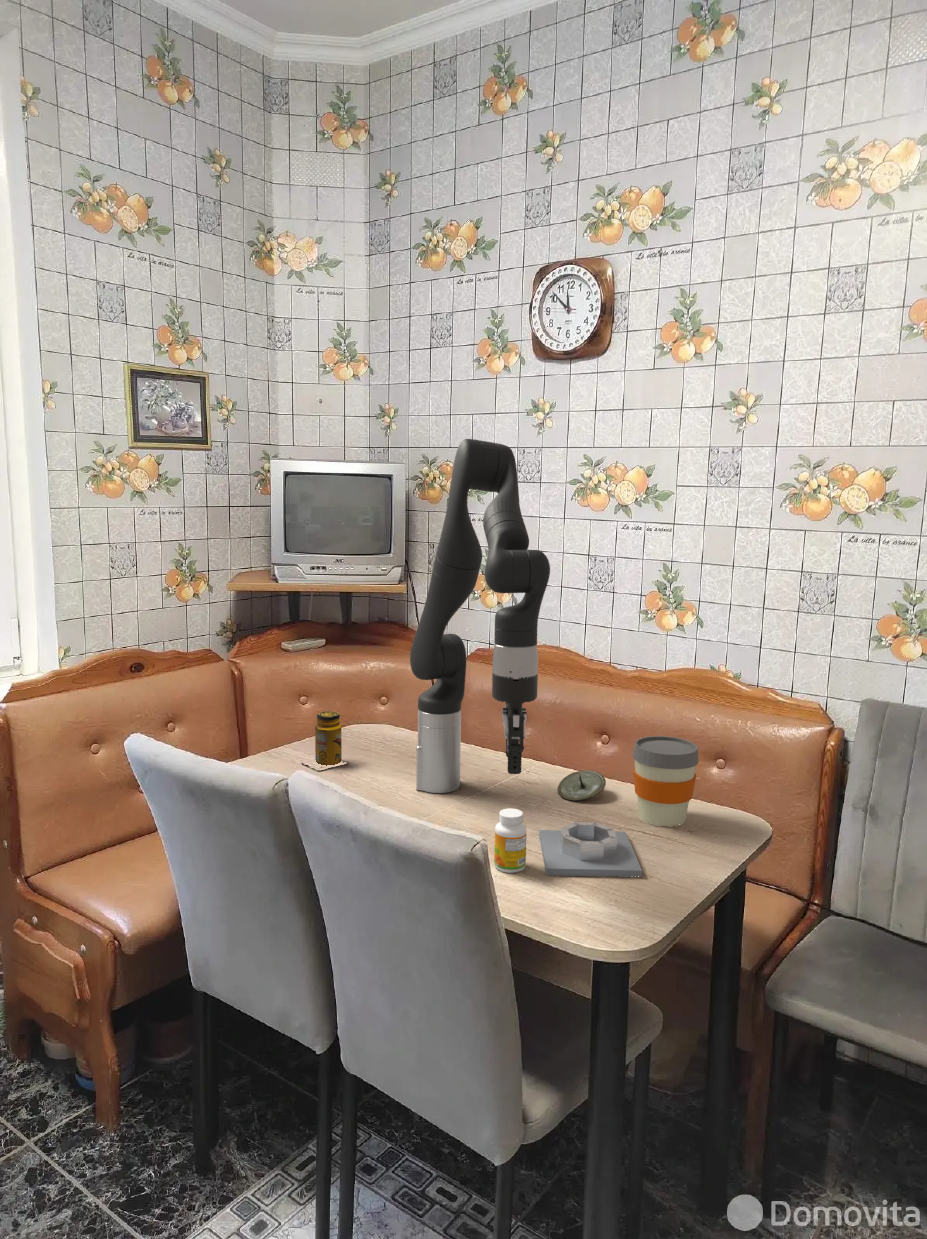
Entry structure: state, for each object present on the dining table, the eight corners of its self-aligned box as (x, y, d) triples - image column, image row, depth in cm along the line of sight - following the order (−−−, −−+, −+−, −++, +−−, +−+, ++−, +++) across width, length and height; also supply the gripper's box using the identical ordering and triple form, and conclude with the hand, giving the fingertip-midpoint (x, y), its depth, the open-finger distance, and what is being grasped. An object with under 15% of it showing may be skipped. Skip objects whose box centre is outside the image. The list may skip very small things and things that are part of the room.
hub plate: (546, 875, 141) (546, 868, 141) (539, 835, 157) (539, 829, 157) (641, 877, 141) (642, 870, 141) (625, 837, 157) (625, 831, 156)
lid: (615, 797, 177) (616, 774, 177) (583, 807, 171) (584, 784, 170) (578, 782, 186) (579, 761, 185) (546, 792, 179) (547, 770, 178)
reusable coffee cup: (617, 810, 170) (620, 739, 167) (668, 802, 175) (672, 732, 172) (654, 834, 158) (658, 758, 156) (708, 825, 163) (713, 750, 161)
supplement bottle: (492, 859, 147) (493, 806, 145) (522, 859, 147) (524, 806, 146) (496, 874, 141) (497, 819, 140) (527, 873, 142) (529, 818, 140)
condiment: (349, 764, 195) (349, 714, 194) (318, 772, 190) (318, 720, 188) (331, 756, 201) (330, 707, 199) (300, 764, 195) (300, 714, 193)
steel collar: (563, 860, 144) (564, 843, 144) (558, 837, 153) (559, 821, 153) (619, 861, 144) (620, 844, 143) (610, 838, 153) (611, 822, 153)
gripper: (491, 661, 146) (490, 751, 148) (493, 680, 132) (491, 779, 134) (534, 662, 146) (532, 752, 148) (541, 680, 132) (538, 779, 134)
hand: (513, 764), depth 141 cm, fingers open, 8 cm apart
